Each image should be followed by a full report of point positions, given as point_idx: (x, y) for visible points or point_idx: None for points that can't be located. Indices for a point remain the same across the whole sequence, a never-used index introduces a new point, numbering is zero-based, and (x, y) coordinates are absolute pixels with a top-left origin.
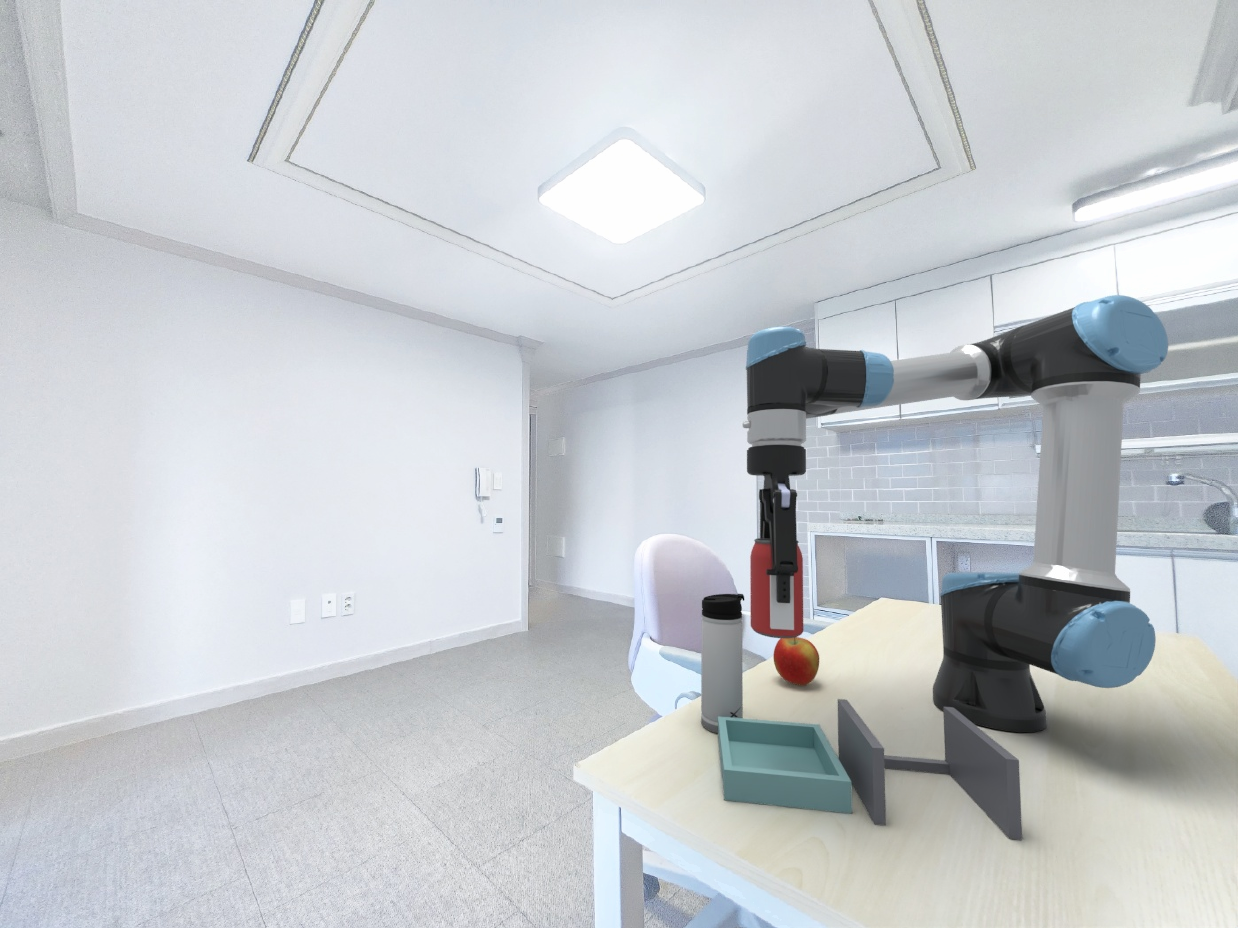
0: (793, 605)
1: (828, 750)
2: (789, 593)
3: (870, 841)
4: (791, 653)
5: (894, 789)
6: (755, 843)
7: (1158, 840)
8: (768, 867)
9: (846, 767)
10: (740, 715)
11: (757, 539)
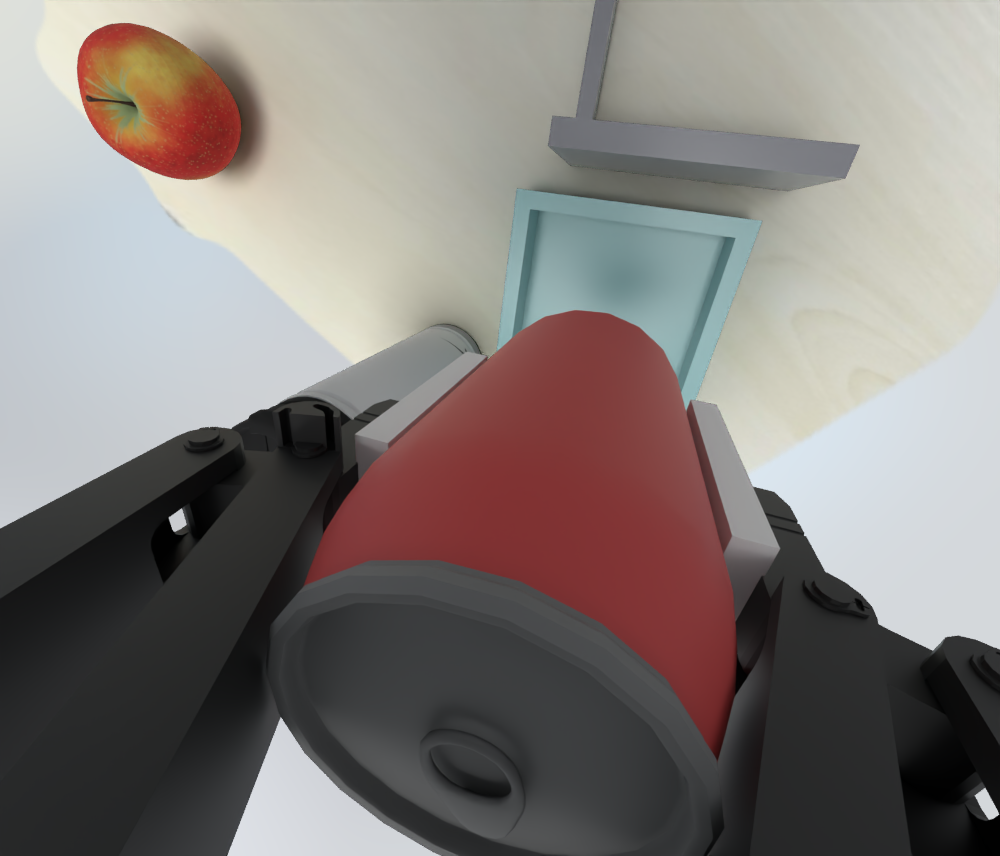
0: (736, 451)
1: (634, 217)
2: (797, 528)
3: (829, 223)
4: (182, 134)
5: (686, 78)
6: (785, 410)
7: None
8: (839, 409)
9: (624, 170)
10: (458, 340)
11: (388, 808)
